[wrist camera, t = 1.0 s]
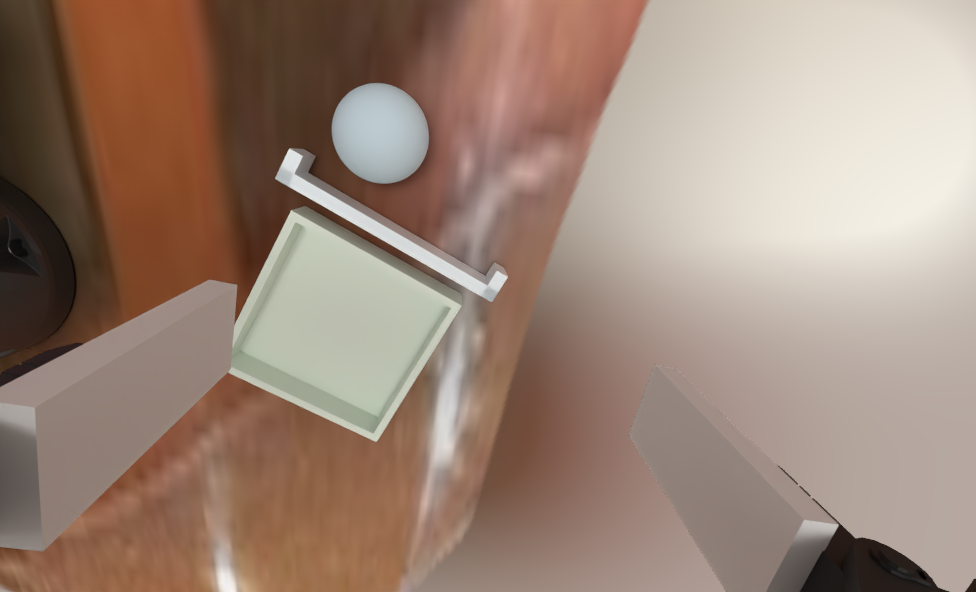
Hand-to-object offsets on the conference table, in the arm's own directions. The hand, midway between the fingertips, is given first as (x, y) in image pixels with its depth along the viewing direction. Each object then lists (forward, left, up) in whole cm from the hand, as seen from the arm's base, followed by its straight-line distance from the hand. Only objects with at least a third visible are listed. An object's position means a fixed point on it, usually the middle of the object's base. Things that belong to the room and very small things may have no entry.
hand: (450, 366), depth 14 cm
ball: (-8, +4, -24) cm, 25 cm away
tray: (-4, -11, -24) cm, 26 cm away
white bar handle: (-4, -2, -24) cm, 24 cm away
